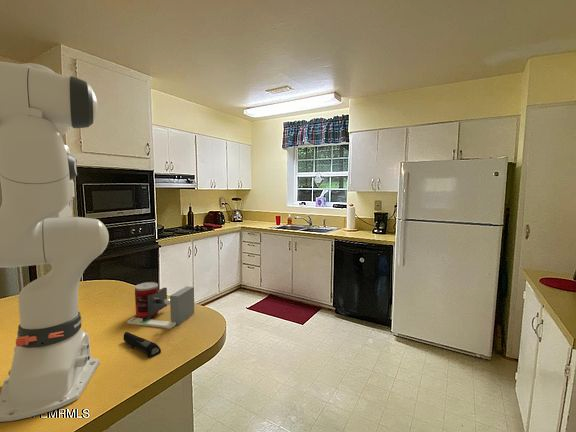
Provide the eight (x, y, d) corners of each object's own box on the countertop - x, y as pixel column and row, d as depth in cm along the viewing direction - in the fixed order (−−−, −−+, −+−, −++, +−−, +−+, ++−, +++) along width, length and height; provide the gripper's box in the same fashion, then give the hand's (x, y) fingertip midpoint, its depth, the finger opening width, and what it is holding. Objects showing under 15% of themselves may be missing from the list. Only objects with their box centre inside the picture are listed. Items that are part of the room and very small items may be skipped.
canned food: (152, 308, 113) (151, 280, 112) (163, 313, 108) (162, 285, 107) (131, 314, 107) (130, 285, 106) (142, 320, 102) (140, 290, 101)
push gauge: (127, 323, 101) (125, 295, 100) (152, 308, 113) (151, 283, 112) (173, 329, 96) (172, 299, 96) (194, 313, 109) (193, 287, 108)
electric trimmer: (132, 338, 91) (132, 328, 91) (162, 353, 83) (161, 342, 82) (120, 343, 88) (119, 333, 88) (149, 359, 80) (149, 348, 79)
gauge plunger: (142, 321, 100) (141, 298, 99) (164, 307, 111) (163, 287, 111) (160, 323, 98) (159, 300, 97) (181, 309, 110) (180, 288, 109)
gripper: (62, 192, 91) (65, 236, 92) (75, 192, 109) (77, 228, 110) (36, 192, 88) (40, 237, 89) (54, 192, 106) (56, 229, 108)
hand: (60, 232), depth 100 cm, fingers closed
